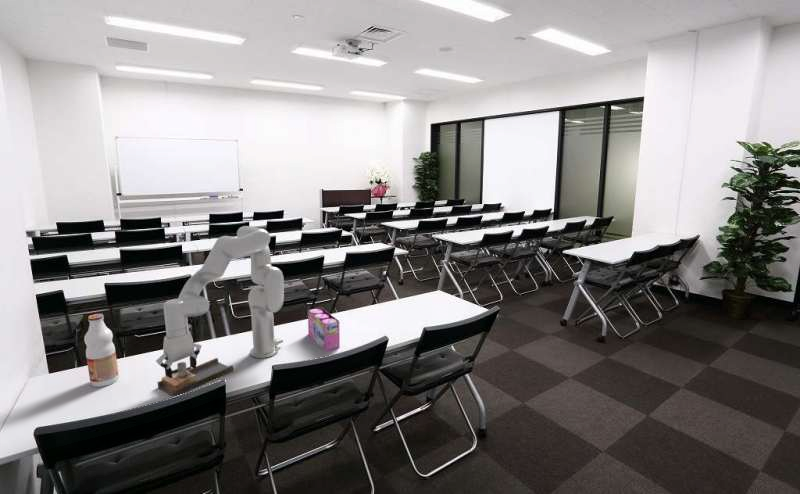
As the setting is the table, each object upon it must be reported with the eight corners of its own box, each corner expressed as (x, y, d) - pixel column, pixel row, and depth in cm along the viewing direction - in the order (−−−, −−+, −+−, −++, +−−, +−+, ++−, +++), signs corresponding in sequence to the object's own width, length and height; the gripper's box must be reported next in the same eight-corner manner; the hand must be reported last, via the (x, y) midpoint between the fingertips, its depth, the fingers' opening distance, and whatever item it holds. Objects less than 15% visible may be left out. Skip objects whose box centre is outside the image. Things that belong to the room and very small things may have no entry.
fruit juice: (110, 387, 163) (101, 320, 157) (85, 388, 162) (74, 320, 156) (123, 375, 172) (115, 311, 166) (99, 375, 171) (90, 311, 165)
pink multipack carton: (306, 333, 216) (306, 308, 213) (321, 330, 220) (320, 305, 217) (325, 351, 196) (324, 324, 193) (340, 347, 200) (339, 320, 197)
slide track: (217, 363, 183) (216, 354, 182) (233, 371, 176) (232, 362, 175) (158, 387, 163) (157, 378, 162) (173, 398, 156) (172, 388, 155)
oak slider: (185, 376, 169) (183, 358, 168) (196, 382, 165) (194, 363, 163) (170, 382, 165) (168, 363, 163) (181, 388, 160) (179, 369, 158)
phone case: (169, 359, 187) (167, 375, 173) (169, 356, 187) (167, 371, 173) (191, 355, 191) (191, 370, 177) (190, 352, 191) (191, 367, 177)
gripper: (193, 322, 169) (197, 360, 173) (149, 336, 155) (154, 378, 159) (204, 326, 165) (207, 366, 168) (159, 341, 151) (163, 384, 155)
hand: (181, 371), depth 164 cm, fingers open, 9 cm apart
